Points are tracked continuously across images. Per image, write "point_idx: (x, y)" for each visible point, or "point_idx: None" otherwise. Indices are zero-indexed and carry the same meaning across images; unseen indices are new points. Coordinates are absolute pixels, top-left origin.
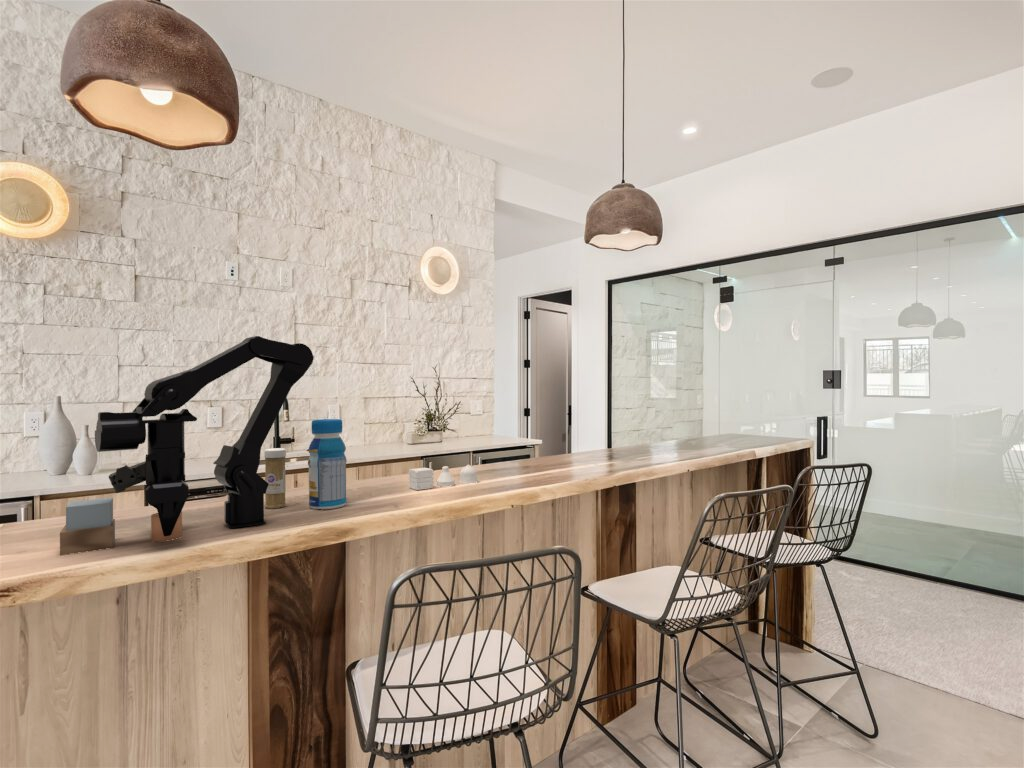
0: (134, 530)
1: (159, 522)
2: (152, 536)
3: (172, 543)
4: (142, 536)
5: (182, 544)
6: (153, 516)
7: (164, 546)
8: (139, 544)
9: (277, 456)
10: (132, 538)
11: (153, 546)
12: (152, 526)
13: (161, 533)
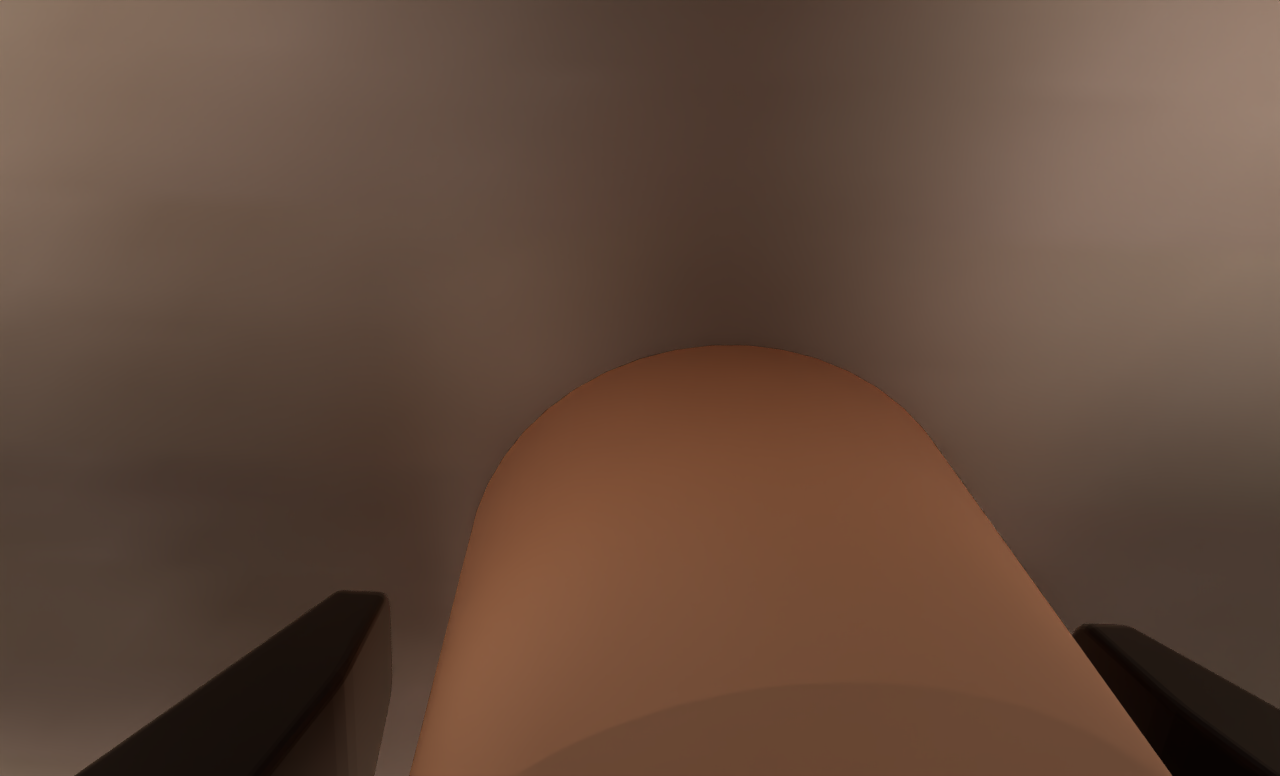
0: None
1: (444, 725)
2: (634, 397)
3: (201, 623)
4: (1257, 219)
5: (28, 735)
6: (587, 736)
7: (30, 505)
8: (505, 125)
9: None
10: (1244, 22)
11: (142, 348)
12: (635, 510)
13: (463, 577)
